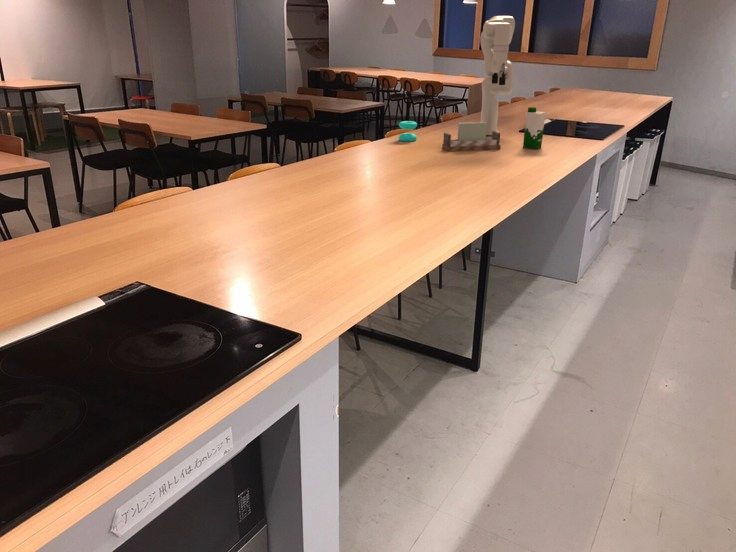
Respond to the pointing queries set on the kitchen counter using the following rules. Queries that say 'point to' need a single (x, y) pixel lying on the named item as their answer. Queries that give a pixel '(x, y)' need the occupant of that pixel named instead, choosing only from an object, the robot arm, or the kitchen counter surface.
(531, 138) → the milk carton
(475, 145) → the track base
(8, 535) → the kitchen counter surface
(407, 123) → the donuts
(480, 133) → the door panel
